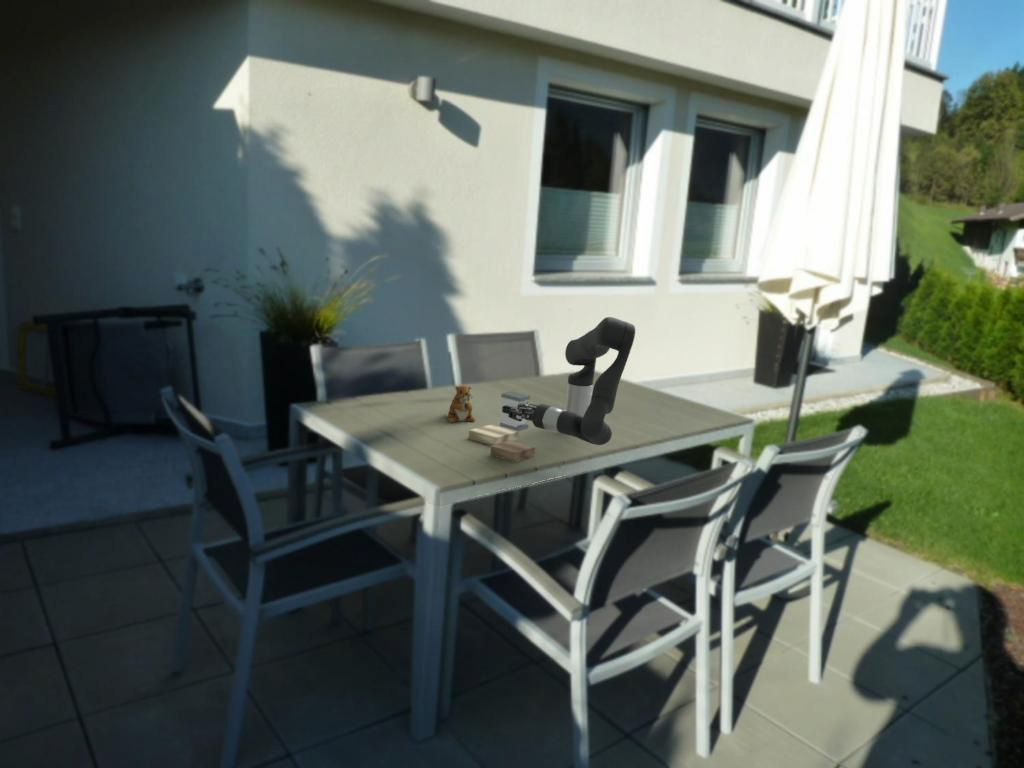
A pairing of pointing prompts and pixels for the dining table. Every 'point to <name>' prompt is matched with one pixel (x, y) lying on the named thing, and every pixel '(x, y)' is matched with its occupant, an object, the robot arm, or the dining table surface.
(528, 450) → the walnut stand
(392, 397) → the dining table surface
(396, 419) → the dining table surface
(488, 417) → the dining table surface
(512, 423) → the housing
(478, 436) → the cream slab
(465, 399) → the stuffed squirrel
